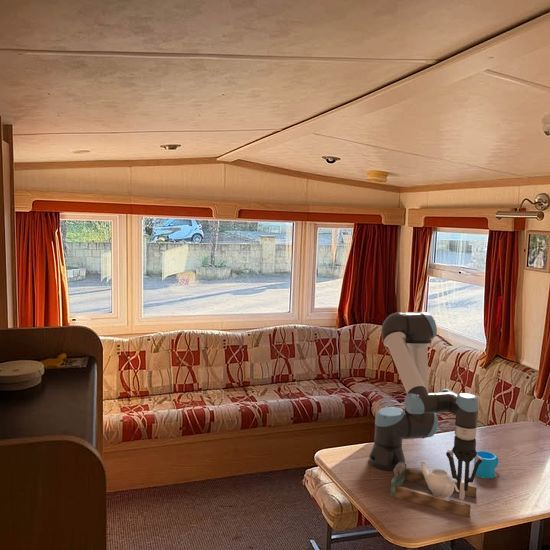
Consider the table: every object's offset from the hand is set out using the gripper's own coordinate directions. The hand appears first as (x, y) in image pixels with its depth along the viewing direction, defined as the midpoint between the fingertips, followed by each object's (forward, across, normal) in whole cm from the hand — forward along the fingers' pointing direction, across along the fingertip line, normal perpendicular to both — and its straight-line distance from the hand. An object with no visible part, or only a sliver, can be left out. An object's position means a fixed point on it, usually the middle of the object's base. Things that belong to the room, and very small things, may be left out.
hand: (461, 497), depth 198 cm
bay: (+2, -11, 0) cm, 11 cm away
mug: (+2, +6, +31) cm, 32 cm away
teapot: (+2, -8, +1) cm, 9 cm away
